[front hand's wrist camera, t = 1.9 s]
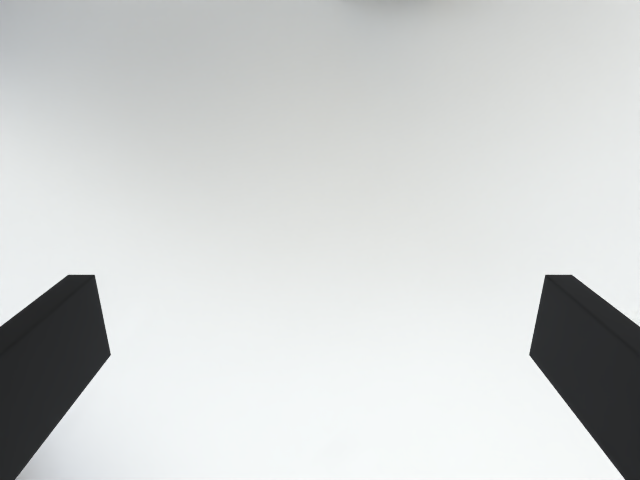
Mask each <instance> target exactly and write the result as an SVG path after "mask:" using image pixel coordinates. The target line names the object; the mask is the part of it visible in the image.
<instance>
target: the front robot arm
mask: <svg viewBox="0 0 640 480" xmlns="http://www.w3.org/2000/svg"><path fill="white" fill-rule="evenodd" d="M110 355H111V354H110V349H109V344H108V339H107V334H106V329H105V324H104V319H103V314H102V309H101V304H100V299H99V294H98V289H97V284H96V279H95V275H68V276H66V277H65V278H64V279H62V280H61V281H60V282H58V283H57V284H56V285H54V286H53V287H52V288H50V289H49V290H48V291H47V292H45V293H44V294H43V295H41V296H40V297H39V298H37V299H36V300H35V301H33V302H32V303H31V304H30V305H28V306H27V307H26V308H24V309H23V310H22V311H20V312H19V313H18V314H16V315H15V316H14V317H13V318H11V319H10V320H9V321H7V322H6V323H5V324H3V325H2V326H1V327H0V480H15V479H16V477H17V476H18V475H19V474H20V472H21V471H22V470H23V468H24V467H25V466H26V464H27V463H28V462H29V461H30V459H31V458H32V457H33V455H34V454H35V453H36V451H37V450H38V449H39V448H40V446H41V445H42V444H43V442H44V441H45V440H46V438H47V437H48V436H49V435H50V433H51V432H52V431H53V429H54V428H55V427H56V425H57V424H58V423H59V422H60V420H61V419H62V418H63V416H64V415H65V414H66V412H67V411H68V410H69V409H70V407H71V406H72V405H73V403H74V402H75V401H76V399H77V398H78V397H79V395H80V394H81V393H82V392H83V390H84V389H85V388H86V386H87V385H88V384H89V382H90V381H91V380H92V379H93V377H94V376H95V375H96V373H97V372H98V371H99V369H100V368H101V367H102V366H103V364H104V363H105V362H106V360H107V359H108V358H109V356H110ZM529 355H530V356H531V358H532V359H533V360H534V362H535V363H536V364H537V366H538V367H539V368H540V369H541V371H542V372H543V373H544V375H545V376H546V377H547V379H548V380H549V381H550V382H551V384H552V385H553V386H554V388H555V389H556V390H557V392H558V393H559V394H560V395H561V397H562V398H563V399H564V401H565V402H566V403H567V405H568V406H569V407H570V409H571V410H572V411H573V412H574V414H575V415H576V416H577V418H578V419H579V420H580V422H581V423H582V424H583V425H584V427H585V428H586V429H587V431H588V432H589V433H590V435H591V436H592V437H593V438H594V440H595V441H596V442H597V444H598V445H599V446H600V448H601V449H602V450H603V451H604V453H605V454H606V455H607V457H608V458H609V459H610V461H611V462H612V463H613V464H614V466H615V467H616V468H617V470H618V471H619V472H620V474H621V475H622V476H623V477H624V479H625V480H640V327H639V326H638V325H637V324H635V323H634V322H633V321H631V320H630V319H629V318H627V317H626V316H625V315H624V314H622V313H621V312H620V311H618V310H617V309H616V308H614V307H613V306H612V305H610V304H609V303H608V302H607V301H605V300H604V299H603V298H601V297H600V296H599V295H597V294H596V293H595V292H593V291H592V290H591V289H590V288H588V287H587V286H586V285H584V284H583V283H582V282H580V281H579V280H578V279H576V278H575V277H574V276H572V275H545V279H544V284H543V289H542V294H541V299H540V304H539V309H538V314H537V319H536V324H535V329H534V334H533V339H532V344H531V349H530V354H529Z"/></svg>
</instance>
